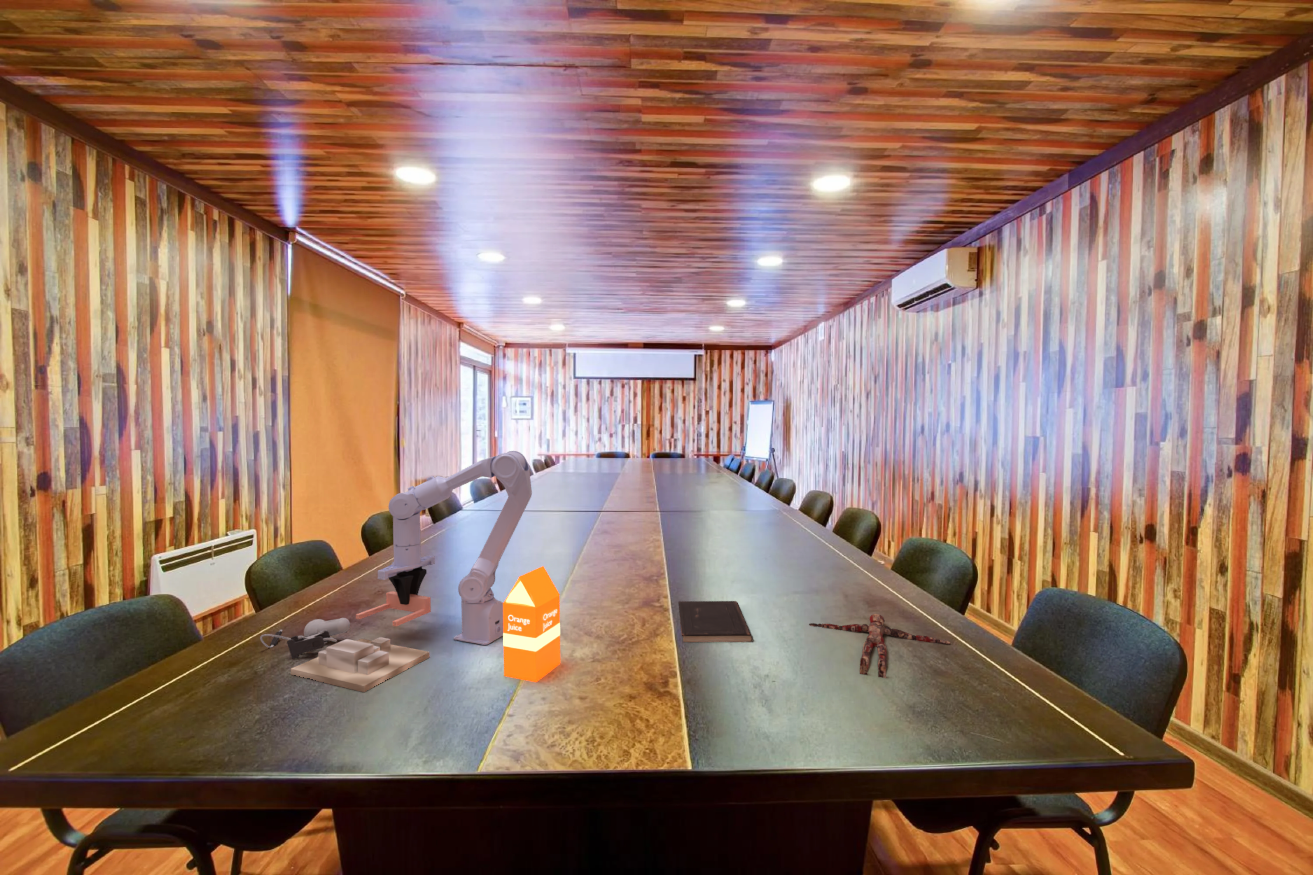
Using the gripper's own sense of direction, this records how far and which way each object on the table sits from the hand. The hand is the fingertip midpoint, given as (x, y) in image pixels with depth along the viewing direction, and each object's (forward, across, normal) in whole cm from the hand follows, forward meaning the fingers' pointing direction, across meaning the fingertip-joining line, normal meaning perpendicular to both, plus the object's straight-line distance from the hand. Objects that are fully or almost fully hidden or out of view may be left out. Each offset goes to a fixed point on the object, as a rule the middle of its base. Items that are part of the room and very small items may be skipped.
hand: (408, 602), depth 125 cm
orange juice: (+9, +3, +36) cm, 37 cm away
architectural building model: (+8, +14, +2) cm, 17 cm away
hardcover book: (+9, -35, +63) cm, 72 cm away
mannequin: (+9, -34, +100) cm, 106 cm away
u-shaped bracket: (+2, +4, 0) cm, 4 cm away
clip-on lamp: (+9, +12, -18) cm, 24 cm away
